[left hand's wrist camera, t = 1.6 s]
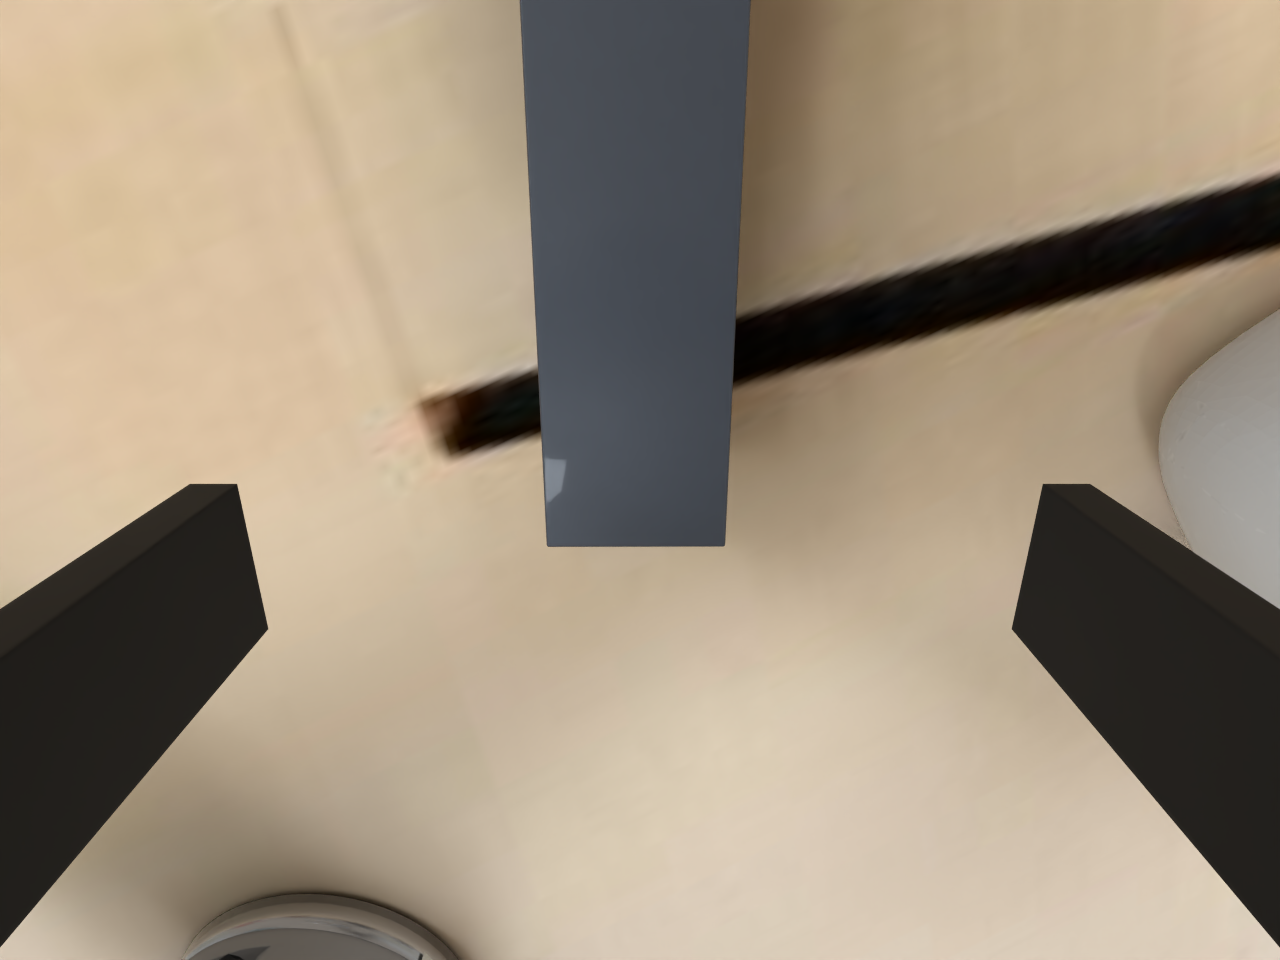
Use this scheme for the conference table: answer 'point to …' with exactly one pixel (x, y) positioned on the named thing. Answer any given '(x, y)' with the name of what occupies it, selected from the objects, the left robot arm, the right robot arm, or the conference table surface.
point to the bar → (635, 261)
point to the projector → (1230, 458)
